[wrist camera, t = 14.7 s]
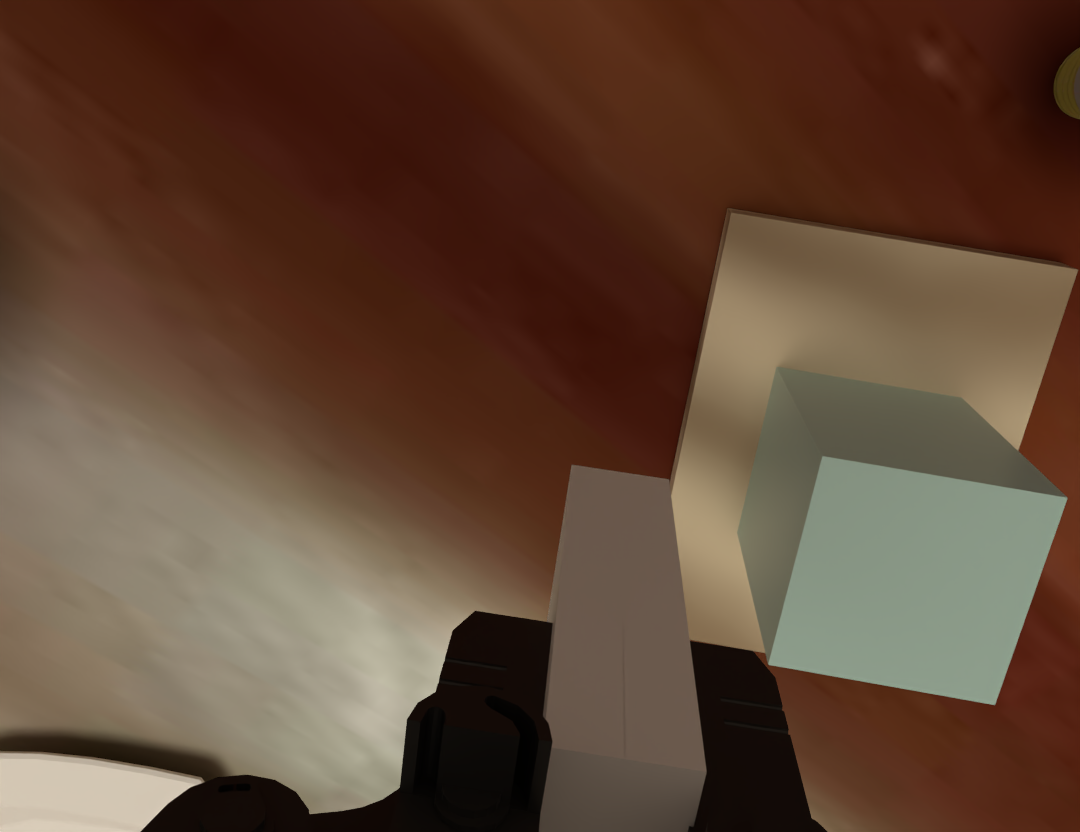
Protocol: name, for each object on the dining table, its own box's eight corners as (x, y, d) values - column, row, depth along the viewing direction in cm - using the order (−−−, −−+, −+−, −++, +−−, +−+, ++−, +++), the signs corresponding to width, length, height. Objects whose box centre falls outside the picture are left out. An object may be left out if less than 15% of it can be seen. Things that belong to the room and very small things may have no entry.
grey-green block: (737, 532, 32) (767, 664, 25) (776, 366, 30) (822, 456, 23) (911, 562, 32) (994, 705, 24) (961, 397, 30) (1067, 498, 23)
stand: (727, 208, 30) (755, 243, 23) (1060, 262, 30) (1189, 315, 23) (642, 613, 34) (645, 742, 28) (930, 664, 34) (1004, 808, 27)
